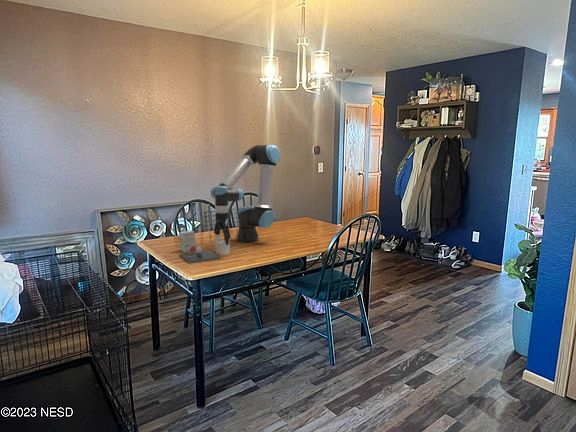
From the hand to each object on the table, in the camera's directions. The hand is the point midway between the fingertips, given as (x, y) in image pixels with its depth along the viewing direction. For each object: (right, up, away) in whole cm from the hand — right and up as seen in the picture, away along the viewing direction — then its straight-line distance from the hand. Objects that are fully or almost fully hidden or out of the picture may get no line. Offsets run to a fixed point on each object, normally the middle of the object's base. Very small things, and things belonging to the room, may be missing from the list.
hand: (222, 247), depth 234 cm
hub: (-11, -5, -9) cm, 15 cm away
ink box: (-22, -3, +7) cm, 23 cm away
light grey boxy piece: (0, -3, +1) cm, 4 cm away
